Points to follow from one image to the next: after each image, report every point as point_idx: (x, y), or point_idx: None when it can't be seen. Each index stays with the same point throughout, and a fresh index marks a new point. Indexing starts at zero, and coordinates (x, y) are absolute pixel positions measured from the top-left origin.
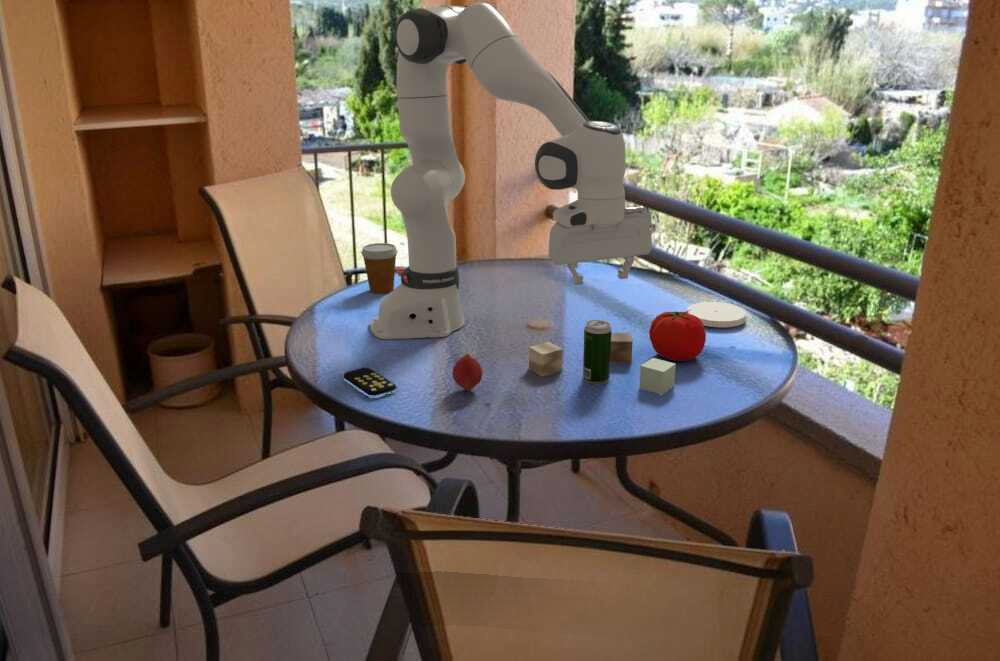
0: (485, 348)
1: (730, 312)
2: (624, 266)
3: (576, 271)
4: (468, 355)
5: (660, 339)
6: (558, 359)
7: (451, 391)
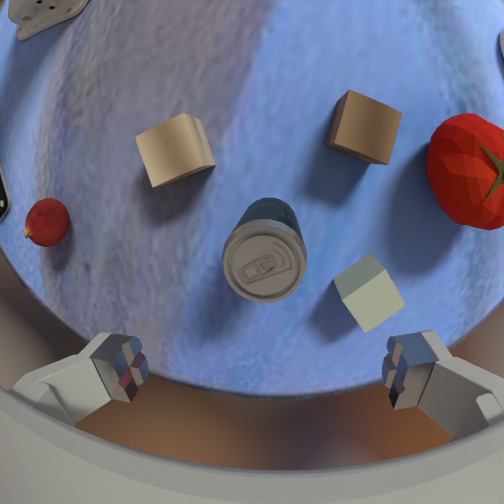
0: (113, 46)
1: None
2: (440, 392)
3: (85, 416)
4: (27, 237)
5: (441, 192)
6: (198, 169)
7: None
